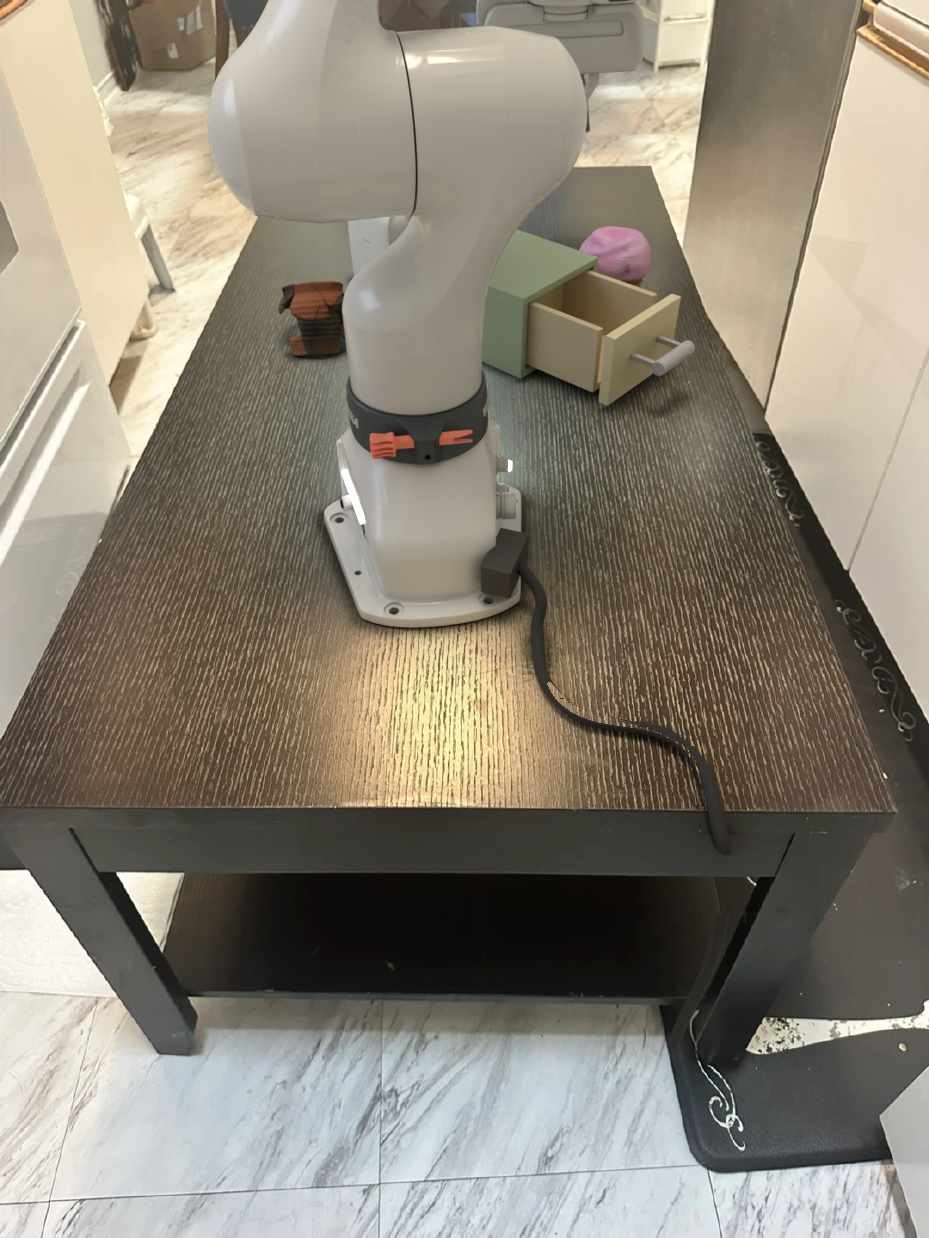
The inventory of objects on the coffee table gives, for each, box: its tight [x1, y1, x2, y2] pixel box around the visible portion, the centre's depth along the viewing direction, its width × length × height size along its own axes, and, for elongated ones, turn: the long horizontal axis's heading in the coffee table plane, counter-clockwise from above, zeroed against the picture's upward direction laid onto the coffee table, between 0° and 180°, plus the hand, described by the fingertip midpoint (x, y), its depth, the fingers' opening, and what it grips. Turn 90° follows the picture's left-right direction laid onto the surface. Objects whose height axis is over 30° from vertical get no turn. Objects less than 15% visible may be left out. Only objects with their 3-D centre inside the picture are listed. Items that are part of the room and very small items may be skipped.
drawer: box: [525, 270, 696, 407], centre depth 98 cm, size 20×12×8 cm, turn 48°
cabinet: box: [482, 229, 599, 380], centre depth 105 cm, size 17×14×10 cm
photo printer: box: [346, 215, 411, 276], centre depth 113 cm, size 10×4×12 cm, turn 39°
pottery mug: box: [277, 280, 346, 357], centre depth 106 cm, size 12×10×8 cm
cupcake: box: [579, 225, 652, 288], centre depth 109 cm, size 9×9×10 cm
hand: (556, 114), depth 113 cm, fingers closed on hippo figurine, 5 cm apart
